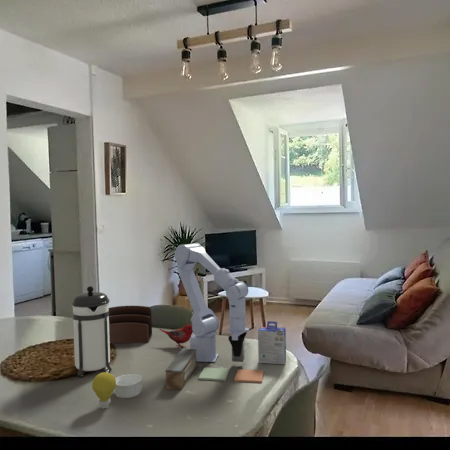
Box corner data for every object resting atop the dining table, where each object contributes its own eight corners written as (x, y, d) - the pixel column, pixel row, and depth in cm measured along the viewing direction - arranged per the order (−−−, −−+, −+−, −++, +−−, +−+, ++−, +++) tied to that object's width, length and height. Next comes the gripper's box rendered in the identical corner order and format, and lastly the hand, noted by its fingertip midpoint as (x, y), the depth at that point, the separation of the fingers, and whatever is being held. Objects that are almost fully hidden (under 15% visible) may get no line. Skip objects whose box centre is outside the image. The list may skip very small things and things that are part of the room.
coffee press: (124, 364, 158) (122, 283, 156) (94, 380, 143) (91, 291, 142) (88, 358, 165) (85, 280, 163) (56, 373, 150) (52, 288, 149)
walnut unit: (165, 389, 136) (164, 370, 135) (182, 365, 156) (181, 348, 155) (182, 390, 135) (181, 371, 134) (197, 366, 155) (196, 349, 154)
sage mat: (198, 379, 143) (198, 377, 143) (204, 369, 152) (204, 367, 151) (225, 380, 141) (225, 379, 141) (229, 370, 150) (229, 368, 150)
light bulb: (95, 402, 127) (94, 369, 127) (118, 401, 128) (117, 368, 127) (90, 413, 121) (89, 378, 120) (114, 411, 121) (113, 377, 121)
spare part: (231, 361, 152) (231, 339, 152) (233, 357, 156) (233, 335, 156) (243, 362, 152) (242, 339, 151) (244, 358, 156) (244, 336, 155)
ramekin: (117, 401, 128) (116, 387, 127) (110, 390, 136) (110, 377, 135) (146, 395, 132) (146, 381, 132) (138, 384, 140) (137, 371, 139)
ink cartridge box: (286, 359, 160) (286, 321, 159) (285, 365, 154) (285, 325, 153) (260, 358, 162) (259, 320, 161) (258, 363, 156) (257, 324, 155)
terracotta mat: (234, 381, 141) (234, 379, 141) (238, 370, 149) (238, 369, 149) (261, 382, 139) (261, 381, 139) (263, 372, 148) (263, 370, 148)
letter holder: (107, 336, 192) (106, 305, 191) (152, 335, 192) (151, 304, 192) (102, 344, 182) (100, 311, 181) (148, 343, 182) (148, 310, 182)
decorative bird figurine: (193, 350, 171) (192, 326, 170) (157, 344, 180) (157, 320, 179) (196, 348, 173) (196, 324, 173) (161, 342, 182) (161, 319, 182)
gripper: (246, 322, 145) (246, 361, 146) (250, 311, 160) (251, 347, 160) (225, 321, 147) (226, 360, 147) (232, 311, 161) (232, 346, 161)
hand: (238, 354), depth 154 cm, fingers closed on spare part, 4 cm apart
